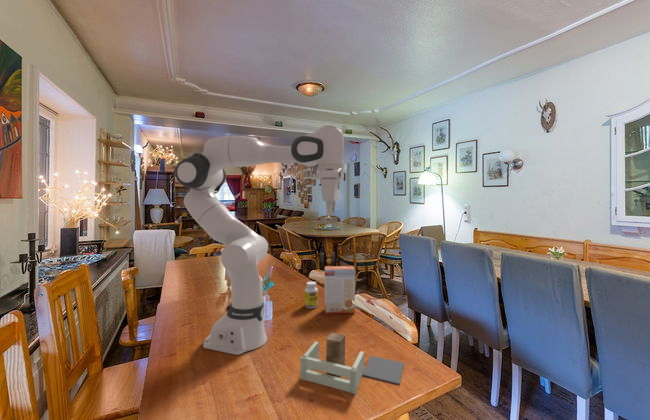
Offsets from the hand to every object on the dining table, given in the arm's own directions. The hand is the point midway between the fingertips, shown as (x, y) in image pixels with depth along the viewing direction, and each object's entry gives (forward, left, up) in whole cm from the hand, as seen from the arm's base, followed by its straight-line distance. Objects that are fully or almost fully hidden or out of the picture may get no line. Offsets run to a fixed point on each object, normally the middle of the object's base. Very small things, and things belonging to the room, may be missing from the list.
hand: (330, 213), depth 100 cm
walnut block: (+3, -14, -48) cm, 50 cm away
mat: (+18, -11, -48) cm, 53 cm away
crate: (+3, -16, -48) cm, 51 cm away
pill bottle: (-13, +36, -48) cm, 61 cm away
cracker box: (+1, +32, -48) cm, 58 cm away
